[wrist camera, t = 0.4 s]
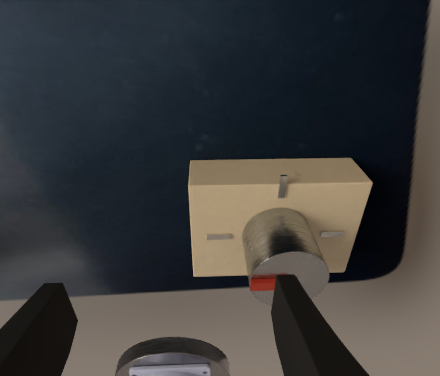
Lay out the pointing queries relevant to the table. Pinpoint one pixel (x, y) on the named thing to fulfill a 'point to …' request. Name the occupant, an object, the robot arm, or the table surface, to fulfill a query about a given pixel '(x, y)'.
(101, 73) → the table surface
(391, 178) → the table surface
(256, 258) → the dial
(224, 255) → the beige rotary knob box
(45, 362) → the robot arm
